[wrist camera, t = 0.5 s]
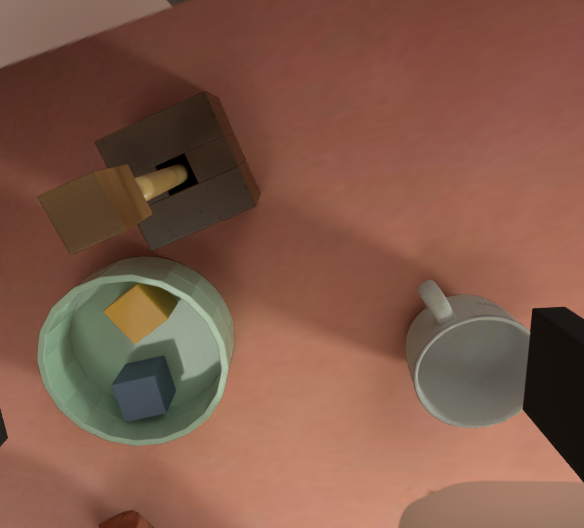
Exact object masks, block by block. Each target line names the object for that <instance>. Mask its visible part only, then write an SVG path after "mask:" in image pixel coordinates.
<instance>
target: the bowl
mask: <svg viewBox="0 0 584 528" xmlns="http://www.w3.org/2000/svg"><path fill="white" fill-rule="evenodd" d="M135 282H138V283H143V284H147V285H152V286H157V287H161V288H163V289H164V290H166V291H168V292H169V293H170V294H171V295H172V296H173V297H174V298H175V300H176V301H177V302H178V304H177V305H176V307H175V309H174V310H173V312H172V314H171V315H170V317H169V318H168V320H166V321H165V322H164V323H162V324H161V325H160V326H158V327H157V328H156V329H155V330H153V331H152V332H151V333H149V334H148V335H147V336H145V337H144V338H143V339H142V340H140V341H139V342H138V343H136V344H134V343H133V342H132V341H131V340H130V339H129V338H128V337H127V336H126V335H125V334H124V333H123V332H122V331H121V330H120V329H119V328H118V327H117V326H116V325H115V324H114V323H113V322H112V321H111V320H110V318H109V317H108V316H107V315H106V314H105V313H104V312H103V311H104V310H105V309H106V308H107V307H108V306H109V305H110V304H111V303H112V302H113V301H114V300H115V299H116V298H117V297H118V296H119V295H120V294H121V293H123V292H124V291H125V290H126V289H128V288H129V287H130V286H131V285H133V284H134V283H135ZM234 344H235V343H234V327H233V322H232V318H231V315H230V312H229V310H228V307H227V305H226V303H225V302H224V300H223V298H222V296H221V295H220V294H219V292H218V291H217V290H216V289H215V287H214V286H213V285H212V284H211V283H210V282H209V281H208V280H207V279H205V278H204V277H203V276H201V275H200V274H199V273H197V272H196V271H194V270H192V269H191V268H189V267H187V266H185V265H183V264H180V263H178V262H175V261H172V260H169V259H164V258H159V257H146V256H143V257H132V258H127V259H122V260H119V261H116V262H113V263H111V264H109V265H107V266H105V267H103V268H101V269H99V270H97V271H95V272H94V273H93V274H91V275H90V276H89V277H87V278H86V279H85V280H83V281H82V282H81V283H79V284H78V285H77V286H75V287H74V288H73V289H71V290H70V291H69V292H68V293H67V294H66V295H65V296H64V297H63V298H62V299H61V300H59V301H58V302H57V303H56V304H55V305H54V306H53V307H52V308H51V310H50V312H49V314H48V316H47V318H46V320H45V322H44V324H43V326H42V328H41V330H40V333H39V343H38V353H37V362H38V366H39V370H40V373H41V377H42V381H43V385H44V387H45V388H46V390H47V392H48V393H49V395H50V396H51V398H52V399H53V401H54V402H55V404H56V406H57V407H58V409H59V410H60V411H61V412H62V413H64V414H65V415H66V416H67V417H68V418H69V419H71V420H72V421H73V422H74V423H75V424H76V425H78V426H79V427H80V428H81V429H84V430H86V431H88V432H90V433H92V434H94V435H96V436H98V437H100V438H102V439H105V440H107V441H112V442H117V443H123V444H128V445H133V446H139V445H151V444H163V443H166V442H168V441H171V440H174V439H176V438H179V437H182V436H184V435H187V434H189V433H190V432H192V431H193V430H194V429H195V428H197V427H198V426H199V425H200V424H202V423H203V422H204V421H205V420H207V419H208V418H209V417H210V415H211V414H212V412H213V411H214V409H215V407H216V406H217V404H218V403H219V401H220V400H221V398H222V396H223V394H224V389H225V385H226V381H227V377H228V372H229V368H230V364H231V359H232V355H233V350H234ZM159 356H165V359H166V362H167V364H168V367H169V370H170V373H171V376H172V379H173V382H174V385H175V388H176V392H175V394H174V397H173V399H172V402H171V404H170V406H169V409H168V411H167V413H166V414H161V415H157V416H152V417H147V418H142V419H138V420H133V421H128V422H125V420H124V418H123V415H122V412H121V410H120V407H119V404H118V402H117V399H116V396H115V394H114V391H113V389H112V386H111V384H112V383H113V381H114V380H115V379H116V377H117V376H118V374H119V373H120V371H121V370H122V368H123V367H124V365H125V364H127V363H132V362H136V361H141V360H145V359H150V358H155V357H159Z"/></svg>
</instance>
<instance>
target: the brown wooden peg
mask: <svg viewBox="0 0 584 528" xmlns="http://www.w3.org/2000/svg"><path fill="white" fill-rule="evenodd" d="M193 177H195V175H194V173H193V171H192V168H191V166H190V164H189V162H188V161H186V162H183V163H180V164H177V165H174V166H171V167H168V168H165V169H161V170H158V171H155V172H152V173H149V174H146V175H143V176H140V177H136V178H134V176H133V174H132V172H131V170H130V168H129V166H128V165H127V164H124V165H120V166H115V167H110V168H106V169H101V170H97V171H93V172H91V173H88V174H86V175H84V176H82V177H79V178H77V179H75V180H73V181H71V182H68V183H66V184H64V185H62V186H59V187H57V188H55V189H53V190H51V191H48V192H46V193H44V194H42V195H39V196H38V199H39V201H40V203H41V205H42V206H43V208H44V210H45V211H46V213H47V215H48V217H49V218H50V220H51V222H52V224H53V225H54V227H55V229H56V231H57V232H58V234H59V236H60V238H61V239H62V241H63V243H64V245H65V246H66V248H67V250H68V251H69V253H70V254H74V253H77V252H79V251H81V250H83V249H86V248H88V247H90V246H93V245H95V244H97V243H100V242H102V241H104V240H107V239H109V238H111V237H113V236H116V235H118V234H120V233H123V232H125V231H127V230H128V229H130V228H131V227H133V226H135V225H136V224H138V223H139V222H141V221H143V220H144V219H146V218H147V217H149V216H150V215H152V211H151V209H150V207H149V205H148V203H147V201H148V200H150V199H152V198H154V197H156V196H158V195H160V194H162V193H164V192H165V191H167V190H169V189H171V188H173V187H175V186H177V185H179V184H181V183H183V182H185V181H187V180H189V179H191V178H193Z"/></svg>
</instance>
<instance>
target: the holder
mask: <svg viewBox="0 0 584 528" xmlns="http://www.w3.org/2000/svg"><path fill="white" fill-rule="evenodd" d="M94 143H95V144H96V146H97V148H98V150H99V152H100V154H101V156H102V158H103V160H104V162H105V164H106V165H107V167H108V168H110V167H115V166H120V165H124V164H127V165H128V166H129V168H130V170H131V172H132V174H133V176H134V178H136V177H140V176H143V175H146V174H149V173H152V172H155V171H158V170H161V169H165V168H168V167H171V166H174V165H177V164H178V163H177V161H175V160H178V159H180V158H182V157H184V156H186V158H187V160H188V162H189V164H190V166H191V168H192V171H193V173H194V175H195V177H196V179H197V182H195V183H192V184H190V185H188V184H187V182H186V181H185V182H183V183H181V184H179V185H177V186H175V187H173V188H171V189H169V190H167V191H165V192H164V193H162V194H160V195H158V196H156V197H154V198H152V199H150V200H148V201H147V203H148V205H149V207H150V209H151V211H152V215H150V216H149V217H147V218H146V219H144V220H143V221H141V222H139V223H138V226H139V228H140V230H141V232H142V234H143V236H144V238H145V240H146V241H147V243H148V245H149V247H150V249H151V251H153V250H155V249H158V248H160V247H162V246H165V245H167V244H169V243H172V242H174V241H176V240H179V239H181V238H183V237H186V236H188V235H190V234H193V233H195V232H197V231H200V230H202V229H204V228H207V227H209V226H212V225H214V224H216V223H219V222H221V221H223V220H226V219H228V218H230V217H233V216H235V215H237V214H240V213H242V212H244V211H247V210H249V209H251V208H254V207H256V205H257V202H258V200H259V197H260V195H261V193H260V191H259V189H258V186H257V184H256V182H255V180H254V177H253V175H252V173H251V171H250V168H249V166H248V164H247V161H245V160H246V159H245V157H244V155H243V152H242V150H241V148H240V145H239V143H238V141H237V139H236V136H235V135H234V132H233V130H232V127H231V125H230V123H229V121H228V118H227V116H226V114H225V111H224V109H223V107H222V105H221V102H220V100H219V98H218V97H216V96H214V95H212V94H210V93H207V92H205V91H204V92H202V93H199V94H197V95H195V96H193V97H191V98H189V99H186V100H184V101H182V102H180V103H178V104H175V105H173V106H171V107H169V108H167V109H164V110H162V111H160V112H158V113H156V114H154V115H151V116H149V117H147V118H145V119H143V120H140V121H138V122H136V123H134V124H132V125H129V126H127V127H125V128H123V129H121V130H119V131H116V132H114V133H112V134H110V135H108V136H105V137H103V138H101V139H99V140H97V141H95V142H94Z"/></svg>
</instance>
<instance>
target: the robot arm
mask: <svg viewBox="0 0 584 528" xmlns="http://www.w3.org/2000/svg"><path fill="white" fill-rule="evenodd" d="M523 410H524V412H525V413H526V414H527V415H528V416H529V418H530V419H531V420H532V421H533V422H534V424H535V425H536V426H537V427H538V428H539V430H540V431H541V432H542V433H543V434H544V436H545V437H546V438H547V439H548V440H549V441H550V443H551V444H552V445H553V446H554V447H555V449H556V450H557V451H558V452H559V453H560V455H561V456H562V457H563V458H564V459H565V461H566V462H567V463H568V464H569V465H570V467H571V468H572V469H573V470H574V471H575V473H576V474H577V475H578V476H579V477H580V479H581V480H582V481H583V482H584V319H583V318H581V317H580V316H578V315H577V314H575V313H574V312H572V311H571V310H569V309H567V308H566V307H551V308H533V309H532V319H531V329H530V339H529V349H528V359H527V370H526V380H525V390H524V400H523ZM7 438H8V436H7V432H6V428H5V425H4V421H3V417H2V413H1V410H0V446H1V445H2V444H3V443H4V442H5V441H6V440H7Z"/></svg>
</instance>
